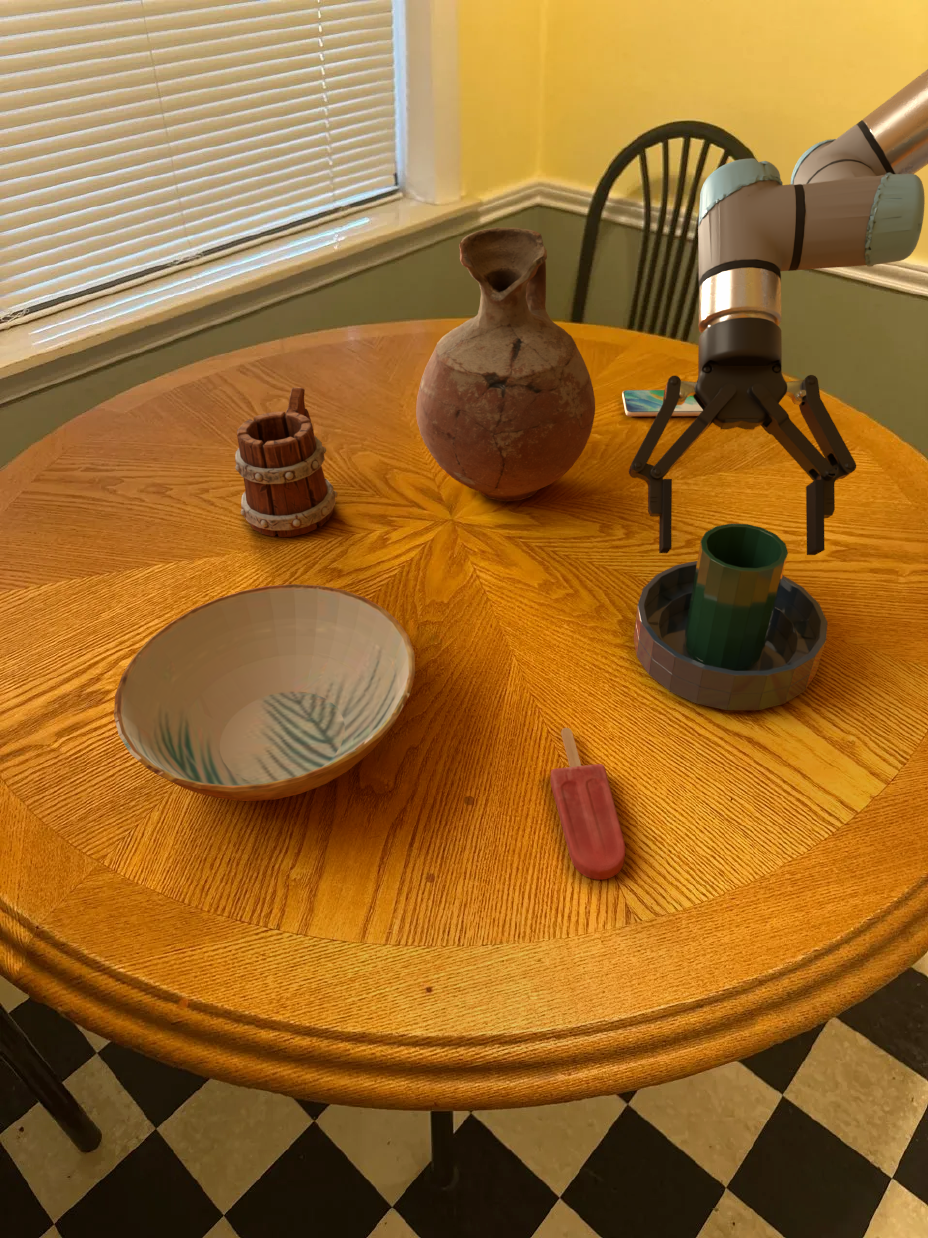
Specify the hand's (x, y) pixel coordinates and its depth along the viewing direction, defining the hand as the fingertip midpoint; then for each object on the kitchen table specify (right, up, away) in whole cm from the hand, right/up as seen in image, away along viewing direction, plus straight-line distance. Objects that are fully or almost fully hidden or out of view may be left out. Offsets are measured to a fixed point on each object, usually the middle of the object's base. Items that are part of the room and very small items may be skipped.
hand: (739, 552), depth 80 cm
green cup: (0, -9, +5) cm, 10 cm away
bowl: (-42, -17, -2) cm, 45 cm away
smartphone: (+5, +25, +46) cm, 53 cm away
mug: (-47, +8, +29) cm, 55 cm away
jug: (-20, +11, +32) cm, 39 cm away
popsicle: (-16, -22, -8) cm, 28 cm away
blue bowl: (0, -9, +5) cm, 11 cm away
